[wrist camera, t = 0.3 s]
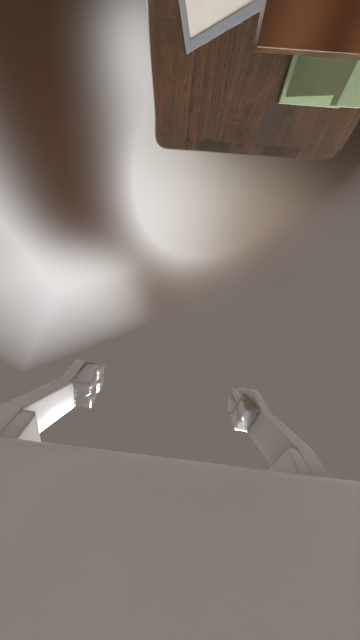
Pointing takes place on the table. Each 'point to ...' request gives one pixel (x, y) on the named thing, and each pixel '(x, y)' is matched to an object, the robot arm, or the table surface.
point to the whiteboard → (213, 18)
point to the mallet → (309, 28)
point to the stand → (322, 82)
